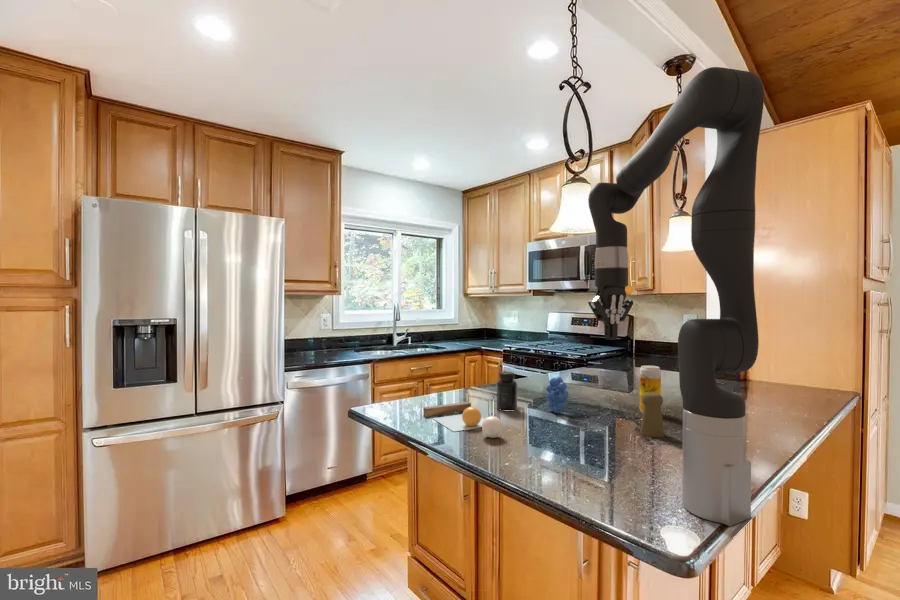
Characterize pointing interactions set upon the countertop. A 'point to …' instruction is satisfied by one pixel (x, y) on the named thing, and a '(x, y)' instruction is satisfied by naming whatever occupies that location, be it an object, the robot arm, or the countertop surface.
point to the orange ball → (471, 416)
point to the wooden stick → (445, 409)
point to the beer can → (649, 381)
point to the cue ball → (492, 427)
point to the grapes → (557, 394)
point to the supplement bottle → (506, 391)
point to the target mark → (456, 423)
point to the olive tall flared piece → (652, 415)
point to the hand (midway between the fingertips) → (611, 339)
